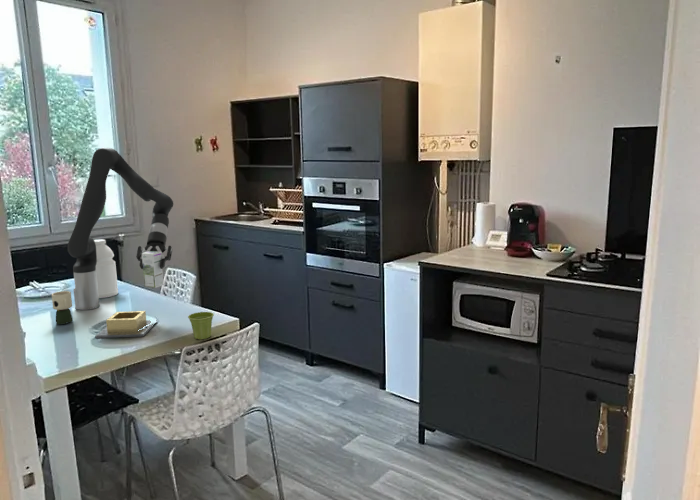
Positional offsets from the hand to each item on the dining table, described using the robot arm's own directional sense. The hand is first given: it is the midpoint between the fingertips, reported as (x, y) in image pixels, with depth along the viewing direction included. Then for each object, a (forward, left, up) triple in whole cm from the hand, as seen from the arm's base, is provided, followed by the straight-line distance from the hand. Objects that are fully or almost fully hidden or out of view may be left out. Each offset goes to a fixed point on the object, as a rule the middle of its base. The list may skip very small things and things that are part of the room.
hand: (151, 268), depth 221 cm
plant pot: (+24, -22, -23) cm, 40 cm away
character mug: (-38, +2, -23) cm, 45 cm away
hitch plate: (-8, -10, -23) cm, 26 cm away
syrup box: (0, +2, -8) cm, 8 cm away
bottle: (-40, +49, -23) cm, 67 cm away
